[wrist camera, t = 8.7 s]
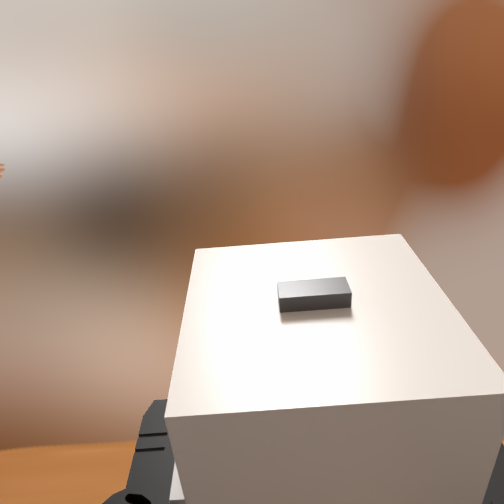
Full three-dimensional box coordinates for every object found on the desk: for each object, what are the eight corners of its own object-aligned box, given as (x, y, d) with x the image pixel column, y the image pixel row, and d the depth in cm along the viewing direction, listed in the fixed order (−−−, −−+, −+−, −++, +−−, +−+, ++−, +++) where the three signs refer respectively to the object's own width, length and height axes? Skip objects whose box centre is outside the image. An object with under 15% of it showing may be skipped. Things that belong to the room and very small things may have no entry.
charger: (241, 728, 11) (159, 400, 5) (240, 544, 15) (193, 237, 9) (412, 717, 11) (523, 375, 5) (367, 535, 15) (401, 221, 9)
